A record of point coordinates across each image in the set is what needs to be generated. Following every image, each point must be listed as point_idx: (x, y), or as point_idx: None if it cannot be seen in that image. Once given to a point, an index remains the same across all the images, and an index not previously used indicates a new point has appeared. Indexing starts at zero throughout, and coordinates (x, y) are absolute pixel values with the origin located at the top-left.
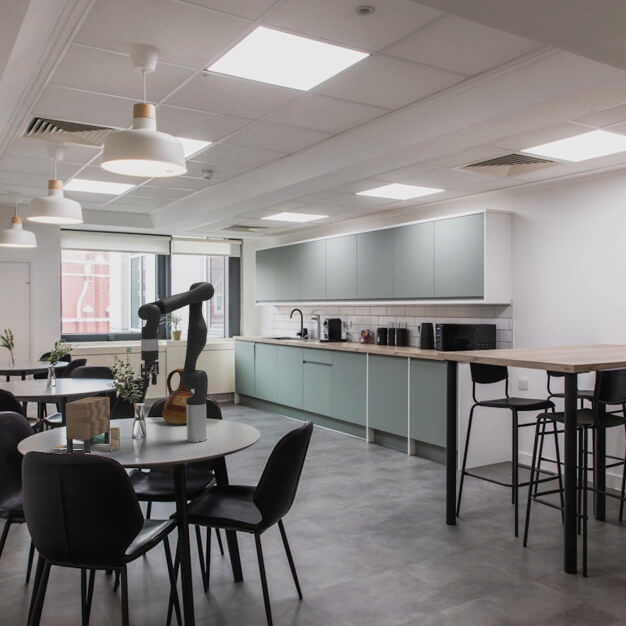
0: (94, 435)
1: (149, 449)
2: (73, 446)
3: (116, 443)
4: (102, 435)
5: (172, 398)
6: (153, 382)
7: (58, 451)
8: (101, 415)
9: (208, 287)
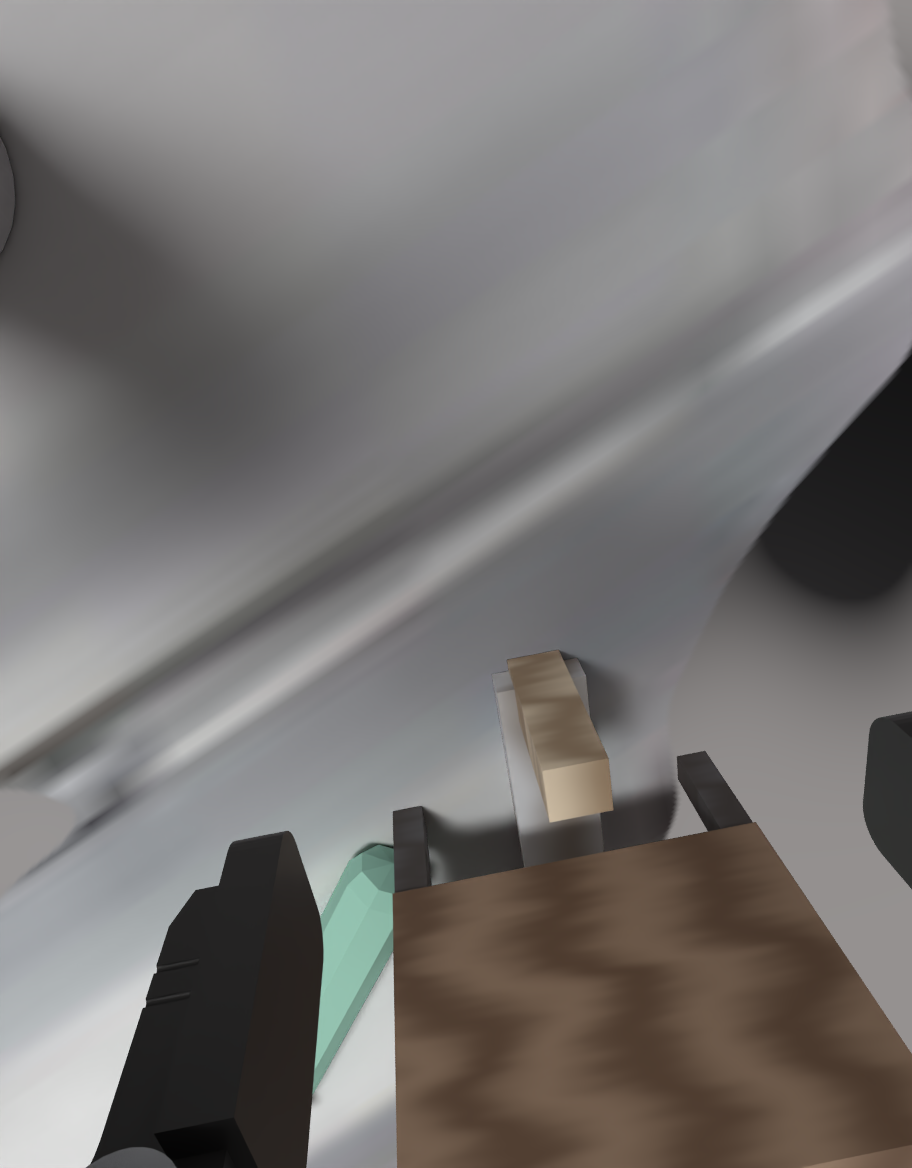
0: (657, 851)
1: (451, 432)
2: None
3: (572, 682)
4: None
5: None
6: (300, 955)
7: None
8: (571, 1010)
9: None
